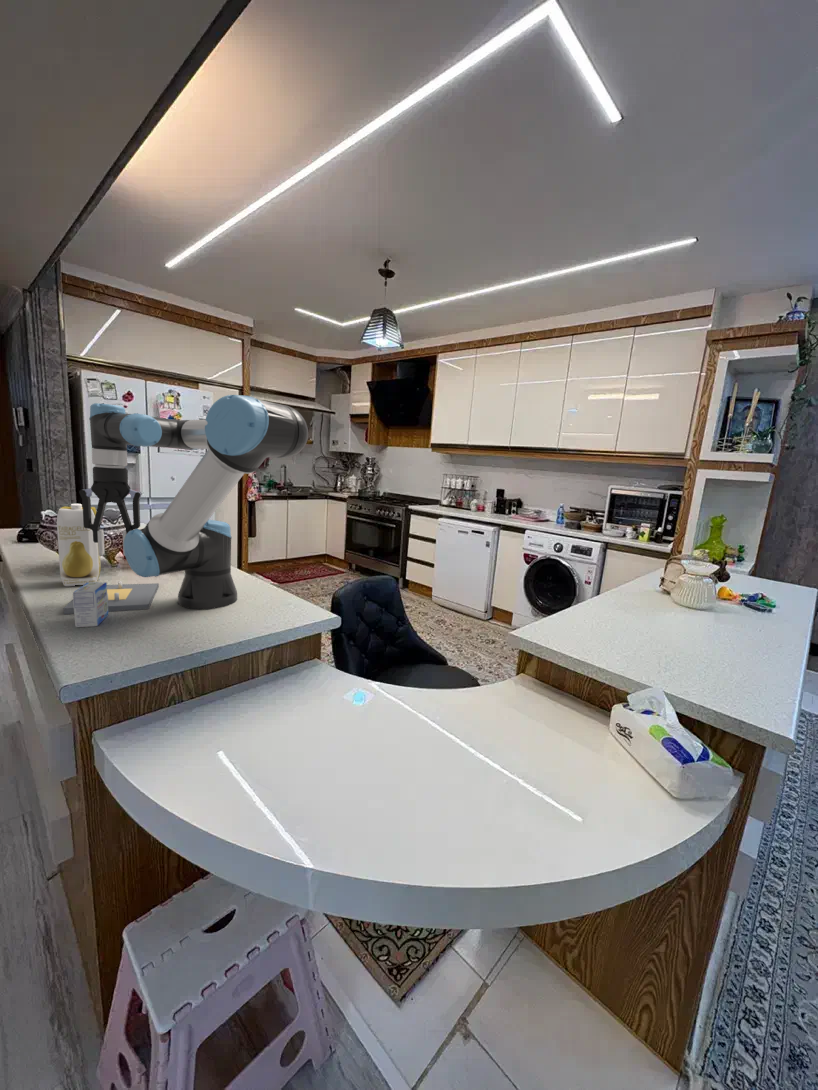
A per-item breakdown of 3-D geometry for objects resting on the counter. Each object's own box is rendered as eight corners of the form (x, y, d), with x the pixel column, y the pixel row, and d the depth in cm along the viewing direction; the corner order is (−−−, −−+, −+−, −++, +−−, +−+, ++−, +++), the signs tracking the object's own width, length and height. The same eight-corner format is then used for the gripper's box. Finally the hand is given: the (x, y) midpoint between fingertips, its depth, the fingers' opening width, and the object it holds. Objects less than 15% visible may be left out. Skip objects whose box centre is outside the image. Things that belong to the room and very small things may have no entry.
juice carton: (59, 588, 125) (53, 504, 121) (64, 580, 132) (59, 501, 127) (99, 585, 129) (95, 505, 125) (102, 578, 136) (98, 502, 132)
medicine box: (97, 627, 101) (95, 591, 99) (74, 628, 99) (72, 591, 98) (108, 615, 108) (107, 581, 107) (87, 616, 107) (85, 581, 105)
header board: (158, 588, 132) (158, 576, 131) (148, 609, 114) (148, 597, 113) (86, 590, 125) (85, 578, 124) (64, 614, 107) (63, 600, 106)
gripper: (152, 468, 120) (154, 551, 124) (72, 463, 113) (77, 551, 117) (148, 469, 113) (150, 557, 117) (62, 464, 106) (68, 557, 110)
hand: (114, 554), depth 117 cm, fingers open, 5 cm apart
